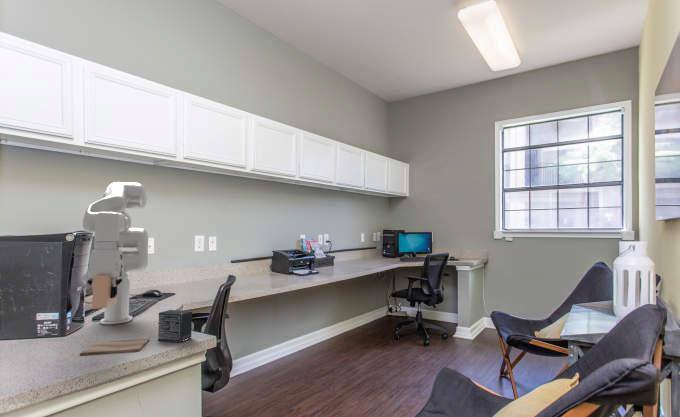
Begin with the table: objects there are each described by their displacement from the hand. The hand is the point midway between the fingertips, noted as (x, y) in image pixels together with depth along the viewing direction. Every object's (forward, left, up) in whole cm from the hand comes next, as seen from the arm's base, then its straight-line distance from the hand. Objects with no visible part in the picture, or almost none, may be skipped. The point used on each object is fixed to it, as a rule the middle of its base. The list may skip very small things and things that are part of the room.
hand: (104, 297), depth 129 cm
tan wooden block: (0, 0, -3) cm, 3 cm away
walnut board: (+1, +4, -18) cm, 18 cm away
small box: (-5, +22, -18) cm, 29 cm away
